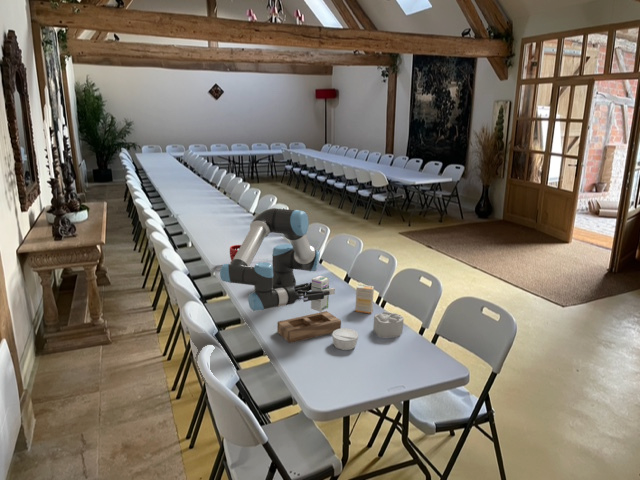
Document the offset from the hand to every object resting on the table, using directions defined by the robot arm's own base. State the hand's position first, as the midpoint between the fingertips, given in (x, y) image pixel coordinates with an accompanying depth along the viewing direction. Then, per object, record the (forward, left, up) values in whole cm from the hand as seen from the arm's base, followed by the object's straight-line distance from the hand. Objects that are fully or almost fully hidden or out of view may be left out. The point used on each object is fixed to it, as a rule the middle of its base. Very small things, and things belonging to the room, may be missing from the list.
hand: (329, 287), depth 213 cm
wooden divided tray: (0, -10, -19) cm, 22 cm away
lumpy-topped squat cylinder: (+17, +22, -20) cm, 34 cm away
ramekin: (+18, -3, -20) cm, 27 cm away
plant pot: (-99, -2, -20) cm, 101 cm away
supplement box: (-7, +26, -19) cm, 33 cm away
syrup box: (0, -5, -9) cm, 10 cm away
